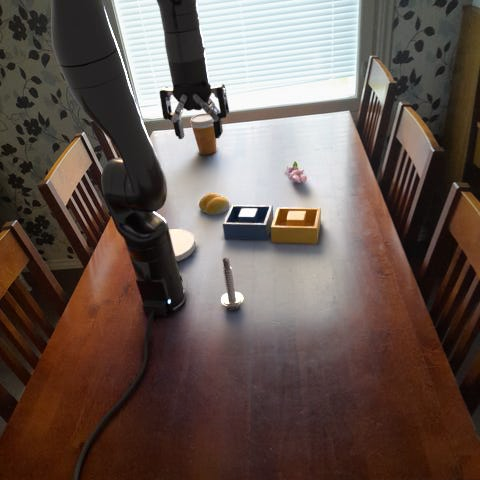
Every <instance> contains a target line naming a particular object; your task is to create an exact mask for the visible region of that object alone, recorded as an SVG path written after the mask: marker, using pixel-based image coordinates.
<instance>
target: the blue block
mask: <svg viewBox="0 0 480 480" xmlns="http://www.w3.org/2000/svg"><path fill="white" fill-rule="evenodd" d="M238 221H239V223H259V216H258V209H255V208H242V209H241V211H240V213H239V216H238Z"/></svg>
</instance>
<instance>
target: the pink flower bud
mask: <svg viewBox="0 0 480 480" xmlns="http://www.w3.org/2000/svg"><path fill="white" fill-rule="evenodd" d="M286 168H287V169H286V172H284V175H285V176H288V179H289V180H290V181H292V182H294V183H299V184H301V182H304V183H306V182H307V179H308V176H307V175H306V174H305V173H304V172H305V170H304V169H299V166H298V163H297V161H296V160H293V163H292V166H290V167H289V166H286Z"/></svg>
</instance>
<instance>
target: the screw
mask: <svg viewBox="0 0 480 480" xmlns="http://www.w3.org/2000/svg"><path fill="white" fill-rule="evenodd" d="M222 264H223V267H222V269H223V278H224V284H225V290H226V293H225V294H223V295H222V296H221V299H220V303H221V304H222V306H223V307H226V308H227V309H228V310H230V311H232V310H237V309H238V308H239V307H240V305H242V303H243V302H244V296H243V295H242V293H240V292H238V291H236V288H235V281H234V273H233V270H232V266H231V263H230V258H228V257H223V258H222Z"/></svg>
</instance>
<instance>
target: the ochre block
mask: <svg viewBox="0 0 480 480" xmlns="http://www.w3.org/2000/svg"><path fill="white" fill-rule="evenodd" d="M286 223H287V226H306V211H289V212H288V216H287V219H286Z"/></svg>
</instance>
